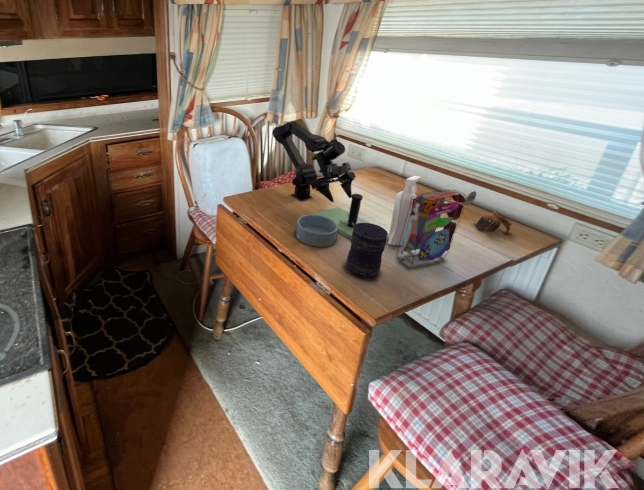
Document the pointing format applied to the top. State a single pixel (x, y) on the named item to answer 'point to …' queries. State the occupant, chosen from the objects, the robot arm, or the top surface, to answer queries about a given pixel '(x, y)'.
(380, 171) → the top surface
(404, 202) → the white pump bottle
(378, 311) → the top surface
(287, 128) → the robot arm
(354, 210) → the black post stand
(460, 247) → the top surface
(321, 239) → the bowl
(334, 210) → the cutting board
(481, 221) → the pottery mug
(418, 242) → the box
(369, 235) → the storage jar
